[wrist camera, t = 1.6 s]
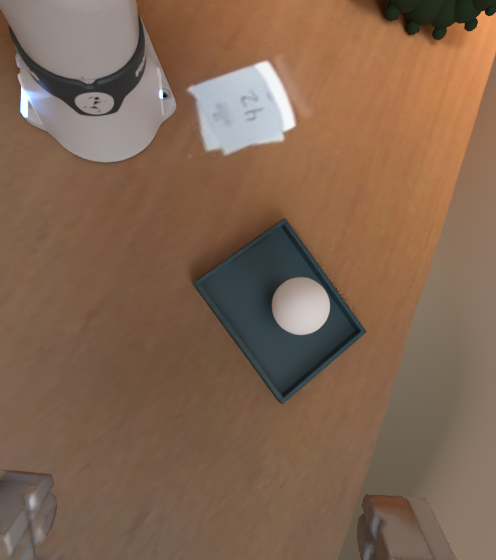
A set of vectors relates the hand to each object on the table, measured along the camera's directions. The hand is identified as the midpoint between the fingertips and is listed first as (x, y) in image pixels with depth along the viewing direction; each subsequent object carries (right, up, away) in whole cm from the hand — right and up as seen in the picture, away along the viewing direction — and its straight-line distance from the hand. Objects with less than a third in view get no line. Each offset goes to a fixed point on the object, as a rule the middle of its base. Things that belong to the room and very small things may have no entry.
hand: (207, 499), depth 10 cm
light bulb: (+5, +2, +40) cm, 41 cm away
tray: (+5, +2, +40) cm, 41 cm away
